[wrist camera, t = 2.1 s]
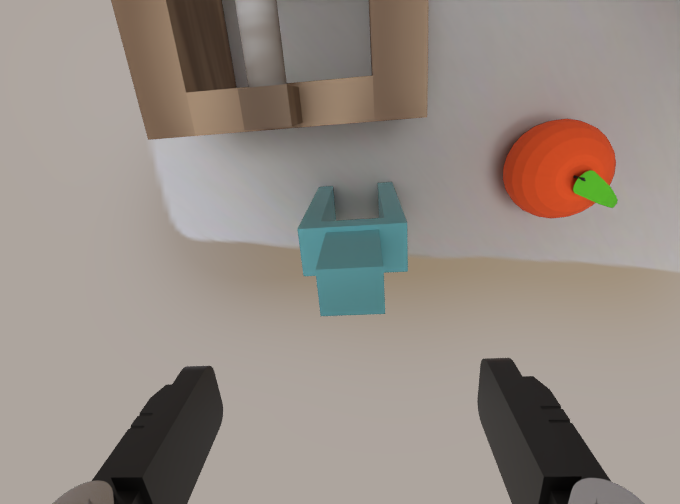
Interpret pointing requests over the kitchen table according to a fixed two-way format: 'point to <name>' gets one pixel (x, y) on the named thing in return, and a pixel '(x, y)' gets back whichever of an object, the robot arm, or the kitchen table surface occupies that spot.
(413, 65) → the wooden rod stand
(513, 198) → the clementine
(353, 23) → the kitchen table surface
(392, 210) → the teal tuning fork
